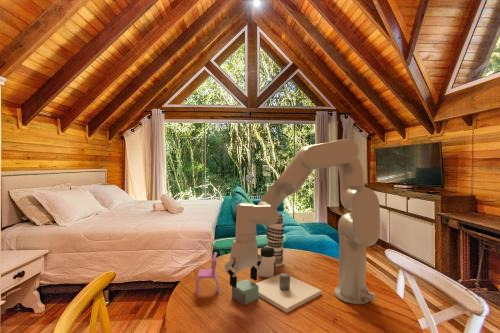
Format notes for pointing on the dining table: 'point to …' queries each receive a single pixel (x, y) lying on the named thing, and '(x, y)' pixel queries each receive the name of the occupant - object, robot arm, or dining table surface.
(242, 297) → the sage green cube
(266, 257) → the medicine bottle
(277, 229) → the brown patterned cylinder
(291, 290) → the post block
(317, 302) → the dining table surface
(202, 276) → the toy chair
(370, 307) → the dining table surface
